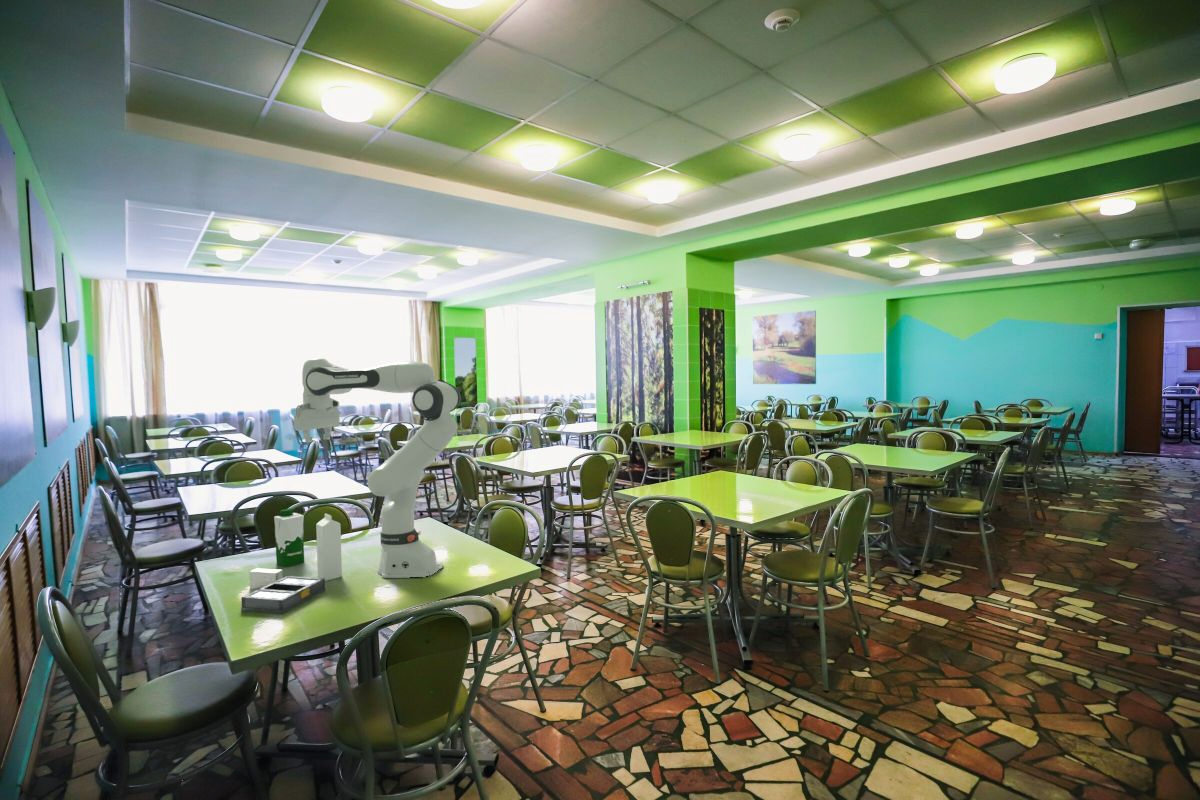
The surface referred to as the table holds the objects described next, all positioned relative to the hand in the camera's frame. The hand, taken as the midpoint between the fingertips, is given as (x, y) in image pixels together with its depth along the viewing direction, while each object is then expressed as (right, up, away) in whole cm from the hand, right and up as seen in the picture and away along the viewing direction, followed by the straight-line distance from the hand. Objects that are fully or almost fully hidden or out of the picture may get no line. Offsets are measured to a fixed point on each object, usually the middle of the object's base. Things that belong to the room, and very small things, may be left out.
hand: (317, 440), depth 208 cm
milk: (+9, -47, -10) cm, 49 cm away
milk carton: (-13, -47, +6) cm, 49 cm away
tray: (+5, -48, -31) cm, 57 cm away
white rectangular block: (-7, -48, -20) cm, 52 cm away
